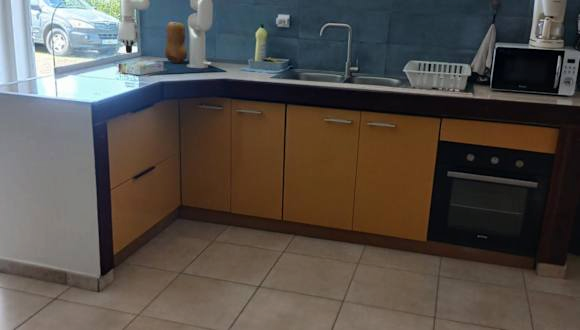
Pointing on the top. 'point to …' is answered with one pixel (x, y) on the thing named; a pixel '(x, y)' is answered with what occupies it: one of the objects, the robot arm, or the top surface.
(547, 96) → the top surface
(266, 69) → the top surface
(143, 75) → the mat
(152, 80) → the top surface
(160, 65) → the snack box
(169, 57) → the butternut squash
